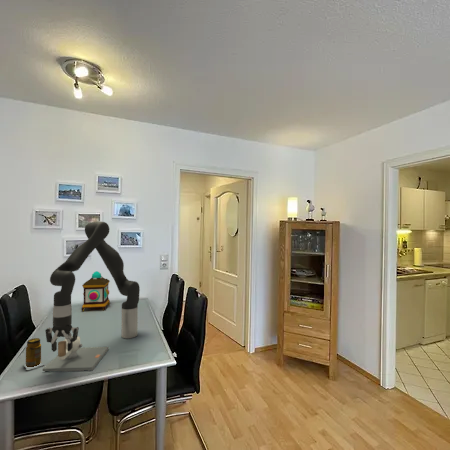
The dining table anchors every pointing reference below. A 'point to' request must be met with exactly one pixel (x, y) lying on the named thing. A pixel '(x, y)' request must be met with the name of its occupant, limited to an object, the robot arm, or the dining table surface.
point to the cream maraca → (63, 348)
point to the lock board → (78, 360)
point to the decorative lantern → (96, 292)
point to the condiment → (33, 352)
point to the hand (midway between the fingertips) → (62, 350)
